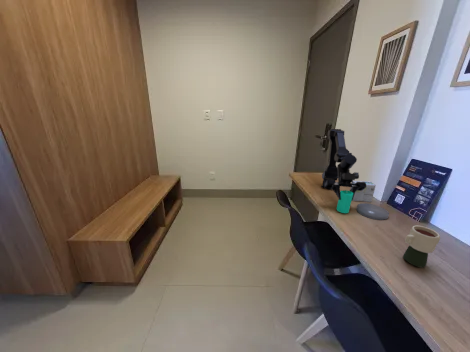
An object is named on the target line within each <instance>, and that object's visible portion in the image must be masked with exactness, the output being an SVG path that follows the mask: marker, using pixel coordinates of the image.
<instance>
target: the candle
mask: <svg viewBox="0 0 470 352" xmlns="http://www.w3.org/2000/svg"><path fill="white" fill-rule="evenodd" d="M340 196H341V200H339V199H338V200H337V204H336V211H337V212H339V213H341V214H349V212H350V208H351V204H352V202H353V200H352V197H353V192H351V191H350V190H349V189H344V190H340Z"/></svg>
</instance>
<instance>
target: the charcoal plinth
mask: <svg viewBox="0 0 470 352" xmlns="http://www.w3.org/2000/svg"><path fill="white" fill-rule="evenodd" d="M356 212H357V213H358V214H360V215H362V216H363V217H366V218H369V219H372V220H377V221H385V220H387V219H388V218H389V215H390V212H389V211H388V210H387V209H386V208H384V207H382V206H379V205H376V204H373V203H368V202H367V203H366V202H365V203H363V202H362V203H359V204H357V205H356Z"/></svg>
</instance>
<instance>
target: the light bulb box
mask: <svg viewBox="0 0 470 352" xmlns="http://www.w3.org/2000/svg"><path fill="white" fill-rule="evenodd" d="M356 182H365V183H366V188H365V189H363V190H362V191H356V192H355V194H354V197H353V200H352V202H365V203H366V202H367V203H371V202H373V197H374V194H375V190H376V184H374V183H373V182H372V181H369V180H353V182H351V183H352V184H355V183H356ZM349 188H350V189H351V187H349ZM350 189H349V190H350Z"/></svg>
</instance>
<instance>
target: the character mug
mask: <svg viewBox="0 0 470 352" xmlns="http://www.w3.org/2000/svg"><path fill="white" fill-rule="evenodd" d="M440 240H441V235H440V234H439V232H437V231H435V230H434V229H432V228H429V227H426V226H424V225H413V226H412V227H411V228H410V230H409V233H408V234H407V235H406V236H405V239H404V242H405V244H407V245H408V247H407V248H406V250H405V252H404V253H403V255H402V258H403V259H404V260H405V261H406V262H407V263H409V264H411V265H413V266H415V267H418V268H425V267H426V266H427V262H428V257H429V254H431V253H433V252H434V251H435V249H436V247H437V245H438V244H439V242H440Z"/></svg>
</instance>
